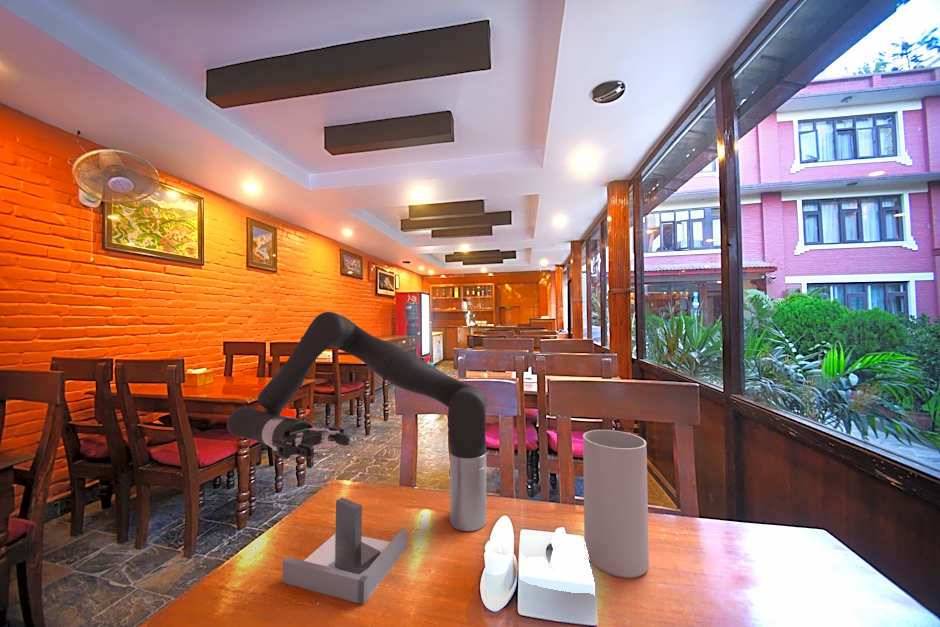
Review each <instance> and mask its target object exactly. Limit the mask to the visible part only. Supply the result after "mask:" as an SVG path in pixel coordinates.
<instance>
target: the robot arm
mask: <svg viewBox="0 0 940 627" xmlns="http://www.w3.org/2000/svg"><path fill="white" fill-rule="evenodd" d="M328 348H332V349H337V350H339V351H342V352H344V353H346V354H349V355H351V356H352V357H355V358H357V359H359V360H360V361H362V362H363V363H364V364H365V365H366V366H367V367H369V369H370V370H372V371H373V372H374V373H375V374H376V375H378V376H379V377H381V378H382V379H384V380H385V381H387V382H389V383H390V384H393V385H394V386H396V387H399V388H401V389H403V390H406V391H408V392H410V393H415V394H418V395H423V396H426V397H429V398H431V399H434V400H436V401H438V402H440V403H441V404H443V405H444V406H446V407H447V408H448V411H447V412H448V413H447V418H448V419H447V422H448V424H447V425H448V444H449V472H450V473H449V524H450V525H451V527H452V528H454V529H456V530H458V531H463V532H474V531H475V532H476V531H477V530H480V529H482V528H483V527H485V525H486V524H487V439H486V411H487V407H488V401H487V397H486V395H485V393H484V392H483V391H482V390H481V389H479V388H478V387H475V386H473V385H472V384H469V383H466V382H463V381H461V380H459V379H456V378H454V377H452V376H450V375H448V374H446V373H444V372H442V371H441V370H440V369H438V368H436V367H434V366H433V365H432V364H430V363H428V362H426V361H424V360H423V359H422V358H419V357H418V356H416V355H415V354H413V353H411V352H409V351H407V350H406V349H404V348H402V347H400V346H398V345H396V344H393V343H391V342H388V341H387V340H383V339H381V338H378V337H377V336H374V335H372V334H370V333H369V332H367V331H365V330H364V329H363V328H361V327H359V326H358V325H357V324H355V323H354V322H353V321H352V320H350V319H348V318H347V317H346V316H343V315H341V314H339V313H336V312H333V311H325V312H322V313H319V314H317V316H315V318H314V319H313V320H312V321H311V322H310V325H308V327H307V329H306V331H305V332H304V334H303V336H302V337H301V339H300V340H299V342H298V343H297V345H296V346H295V348H294V349H293V351H292V353H291V354H290V356H289V357H288V359H286V361H285V363H284V364H283V365H282V366H281V367H280V369H279V370H278V371H277V372H276V374H275V375H273V377H272V378H271V379H270V380H269V382H268V383H267V384H266V385H265V386H264V388H263V389H262V390H261V391H260V392H259V393H258V395H257V402H258V403H259V405H260V406H261V407H263V408H264V409H265V410H264V411H262V410H258V409H254V408H251V407H247V406H245V407H240V408H237V409H235V410H234V411H232V413H230V415H229V417H228V418H227V421H226V428H227V431H228V432H229V433H230V434H231V435H232V436H236V437H239V438H243V439H244V438H245V439H248V440H252V441H256V442H259V443H260V444H263V445H264V446H265V445H266V446H268V447H270V448H271V453H272V455H275V456H278V457H280V458H282V459H284V460H285V459H287V460H288V459H290V458H291V456H294V457H295V458H296V457H297V458H298V457H303V458H306V459H312V458H314V457H315V448H314V447H321V446H323V447H324V446H328V445H329V444H337V445H341V446H344V447H347V446H349V444H350V435H348V434H346V433H345V428H343V427H338V426H334V425H333V426H332V425H325V427H324V428H317V427H313V426H312V424H311V423H310V422H309V421H308V420H305V419H300V418H296V417H293V416H286V415H281V414H282V411H283V410H284V408H285V407H286V405H287V404H288V403H289V402H290V401H291V399H292V398H293V397H294V396H295V395H296V394H297V392H299V390H300V388H301V387H302V385H303V384H304V382H305V380H306V377H307V375H308V372H309V371H310V369H311V367H312V365H313V364H314V362H315V361H316V360H317V358H319V356H320V355H321V354H322V353H324V352H326V350H327V349H328ZM323 437H324V441H322V439H323Z"/></svg>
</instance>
